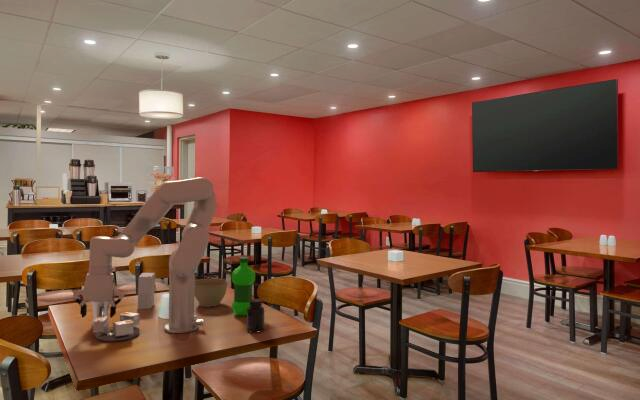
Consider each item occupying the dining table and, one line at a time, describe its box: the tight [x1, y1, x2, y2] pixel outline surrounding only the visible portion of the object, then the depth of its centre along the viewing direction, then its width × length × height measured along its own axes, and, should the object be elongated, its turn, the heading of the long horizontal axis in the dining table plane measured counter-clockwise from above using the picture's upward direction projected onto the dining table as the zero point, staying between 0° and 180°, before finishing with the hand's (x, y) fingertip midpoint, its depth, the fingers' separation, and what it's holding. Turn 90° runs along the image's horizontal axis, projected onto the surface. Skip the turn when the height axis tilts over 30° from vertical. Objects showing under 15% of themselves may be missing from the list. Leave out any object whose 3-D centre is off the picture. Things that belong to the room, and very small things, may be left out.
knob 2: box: [112, 320, 133, 337], centre depth 165 cm, size 4×6×5 cm, turn 131°
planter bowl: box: [194, 278, 229, 308], centre depth 214 cm, size 16×16×11 cm
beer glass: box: [90, 302, 111, 326], centre depth 181 cm, size 7×7×15 cm
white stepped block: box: [119, 311, 140, 327], centre depth 175 cm, size 4×6×5 cm, turn 71°
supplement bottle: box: [246, 298, 265, 332], centre depth 179 cm, size 7×7×12 cm
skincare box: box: [137, 272, 156, 310], centre depth 208 cm, size 8×6×15 cm
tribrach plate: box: [94, 326, 141, 343], centre depth 170 cm, size 15×15×2 cm
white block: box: [92, 315, 109, 333], centre depth 168 cm, size 4×6×5 cm, turn 11°
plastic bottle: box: [231, 256, 256, 316], centre depth 199 cm, size 10×10×25 cm
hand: (98, 316), depth 168 cm, fingers open, 9 cm apart
